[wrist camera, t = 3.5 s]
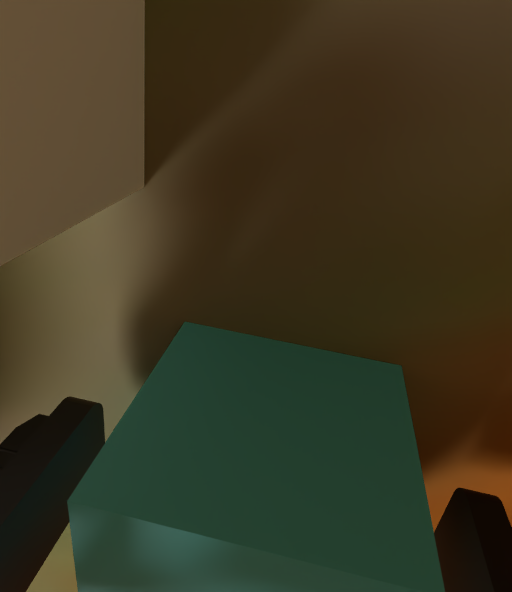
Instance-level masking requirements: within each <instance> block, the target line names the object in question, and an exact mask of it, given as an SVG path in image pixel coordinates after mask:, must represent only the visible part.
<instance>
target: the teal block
mask: <svg viewBox="0 0 512 592" xmlns="http://www.w3.org/2000/svg"><path fill="white" fill-rule="evenodd" d="M67 504H68V512H69V520H70V529H71V537H72V545H73V554H74V562H75V570H76V579H77V587H78V592H445V588H444V583H443V578H442V573H441V568H440V562H439V557H438V552H437V547H436V542H435V537H434V531H433V526H432V521H431V516H430V511H429V506H428V500H427V495H426V490H425V485H424V480H423V475H422V469H421V464H420V459H419V454H418V449H417V444H416V438H415V433H414V428H413V423H412V418H411V412H410V407H409V402H408V397H407V392H406V387H405V381H404V376H403V371H402V366H400V365H395V364H391V363H386V362H381V361H376V360H371V359H366V358H361V357H356V356H351V355H346V354H342V353H337V352H332V351H327V350H322V349H317V348H312V347H307V346H302V345H298V344H293V343H288V342H283V341H278V340H273V339H268V338H263V337H258V336H253V335H249V334H244V333H239V332H234V331H229V330H224V329H219V328H214V327H209V326H204V325H200V324H195V323H190V322H184V323H183V325H182V327H181V328H180V330H179V331H178V333H177V334H176V336H175V337H174V339H173V340H172V342H171V343H170V345H169V346H168V348H167V349H166V351H165V352H164V354H163V356H162V357H161V359H160V360H159V362H158V363H157V365H156V366H155V368H154V369H153V371H152V372H151V374H150V375H149V377H148V378H147V380H146V381H145V383H144V385H143V386H142V388H141V389H140V391H139V392H138V394H137V395H136V397H135V398H134V400H133V401H132V403H131V404H130V406H129V407H128V409H127V410H126V412H125V414H124V415H123V417H122V418H121V420H120V421H119V423H118V424H117V426H116V427H115V429H114V430H113V432H112V433H111V435H110V436H109V438H108V439H107V441H106V443H105V444H104V446H103V447H102V449H101V450H100V452H99V453H98V455H97V456H96V458H95V459H94V461H93V462H92V464H91V465H90V467H89V468H88V470H87V472H86V473H85V475H84V476H83V478H82V479H81V481H80V482H79V484H78V485H77V487H76V488H75V490H74V491H73V493H72V494H71V496H70V497H69V499H68V501H67Z"/></svg>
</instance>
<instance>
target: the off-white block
mask: <svg viewBox="0 0 512 592" xmlns="http://www.w3.org/2000/svg"><path fill="white" fill-rule="evenodd" d="M144 100H145V0H0V266H2V265H3V264H5V263H7V262H9V261H11V260H13V259H14V258H16V257H18V256H20V255H22V254H23V253H25V252H27V251H29V250H31V249H32V248H34V247H36V246H38V245H40V244H42V243H43V242H45V241H47V240H49V239H51V238H52V237H54V236H56V235H58V234H60V233H62V232H63V231H65V230H67V229H69V228H71V227H72V226H74V225H76V224H78V223H80V222H82V221H83V220H85V219H87V218H89V217H91V216H92V215H94V214H96V213H98V212H100V211H101V210H103V209H105V208H107V207H109V206H111V205H112V204H114V203H116V202H118V201H120V200H121V199H123V198H125V197H127V196H129V195H131V194H132V193H134V192H136V191H138V190H140V189H141V188H143V187H144Z"/></svg>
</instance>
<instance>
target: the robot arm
mask: <svg viewBox="0 0 512 592" xmlns="http://www.w3.org/2000/svg"><path fill="white" fill-rule="evenodd" d="M104 444H105V435H104V416H103V407H102V405H101V404H100V403H96V402H92V401H87V400H83V399H79V398H74V397H67V398H65V399H64V400H63V401H62V402H61V403H60V404H59V405H58V406H57V408H56V409H55V410H54V411H53V412H52V413H51V414H50V416H46V415H42V414H38V415H37V416H35V417H33V418H32V419H30V420H28V421H27V422H25V423H23V424H21V425H20V426H18V427H16V428H15V429H14V430H13V431H12V432H11V434H10V435H9V436H8V437H7V438H6V439H5V440H4V441H3V442H2V443H1V444H0V592H26V590H27V589H28V587H29V586H30V584H31V582H32V581H33V579H34V578H35V576H36V574H37V573H38V571H39V570H40V568H41V566H42V565H43V563H44V561H45V560H46V558H47V557H48V555H49V553H50V552H51V550H52V549H53V547H54V545H55V544H56V542H57V541H58V539H59V537H60V536H61V534H62V533H63V531H64V529H65V528H66V526H67V525H68V523H69V521H70V520H69V512H68V504H67V501H68V499H69V497H70V496H71V494H72V493H73V491H74V490H75V488H76V487H77V485H78V484H79V482H80V481H81V479H82V478H83V476H84V475H85V473H86V472H87V470H88V468H89V467H90V465H91V464H92V462H93V461H94V459H95V458H96V456H97V455H98V453H99V452H100V450H101V449H102V447H103V446H104ZM434 537H435V542H436V547H437V552H438V557H439V562H440V568H441V573H442V578H443V583H444V588H445V592H512V527H511V525H510V522H509V520H508V517H507V514H506V512H505V509H504V506H503V504H502V502H501V500H500V499H499V498H498V497H497V496H494V495H490V494H485V493H481V492H477V491H472V490H468V489H464V488H457V489H456V490H455V491H454V493H453V495H452V497H451V499H450V501H449V503H448V505H447V507H446V509H445V511H444V513H443V515H442V518H441V520H440V522H439V524H438V526H437V528H436V530H435V532H434Z"/></svg>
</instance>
